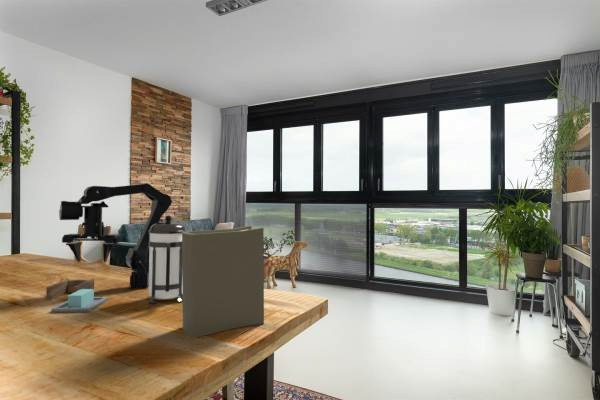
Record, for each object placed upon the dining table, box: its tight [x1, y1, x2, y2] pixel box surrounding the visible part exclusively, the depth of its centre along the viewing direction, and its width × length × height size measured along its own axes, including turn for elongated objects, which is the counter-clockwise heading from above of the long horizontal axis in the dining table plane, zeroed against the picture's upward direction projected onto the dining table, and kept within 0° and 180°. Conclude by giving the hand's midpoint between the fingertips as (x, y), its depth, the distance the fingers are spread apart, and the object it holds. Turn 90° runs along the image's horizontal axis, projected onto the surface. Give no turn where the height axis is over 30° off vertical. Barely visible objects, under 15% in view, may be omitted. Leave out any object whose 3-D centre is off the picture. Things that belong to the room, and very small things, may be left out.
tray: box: [50, 296, 109, 313], centre depth 113 cm, size 11×13×1 cm
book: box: [182, 225, 265, 339], centre depth 98 cm, size 22×9×28 cm, turn 124°
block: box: [67, 288, 95, 308], centre depth 113 cm, size 4×4×8 cm
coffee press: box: [148, 215, 188, 305], centre depth 122 cm, size 17×16×30 cm
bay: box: [45, 278, 95, 301], centre depth 125 cm, size 10×12×4 cm
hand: (92, 261), depth 128 cm, fingers open, 9 cm apart
